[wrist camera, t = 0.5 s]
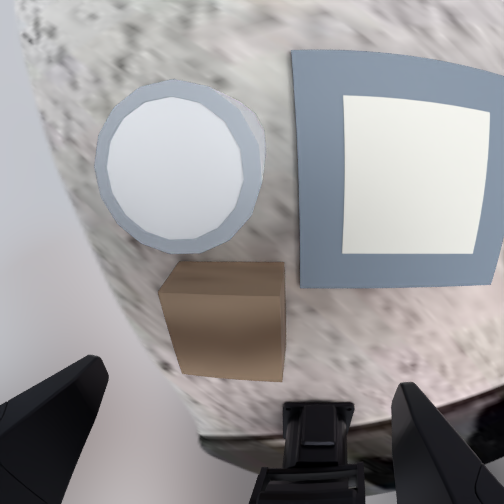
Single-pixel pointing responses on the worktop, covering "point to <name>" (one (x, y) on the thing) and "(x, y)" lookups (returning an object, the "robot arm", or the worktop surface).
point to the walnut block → (227, 319)
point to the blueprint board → (397, 170)
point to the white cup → (180, 165)
